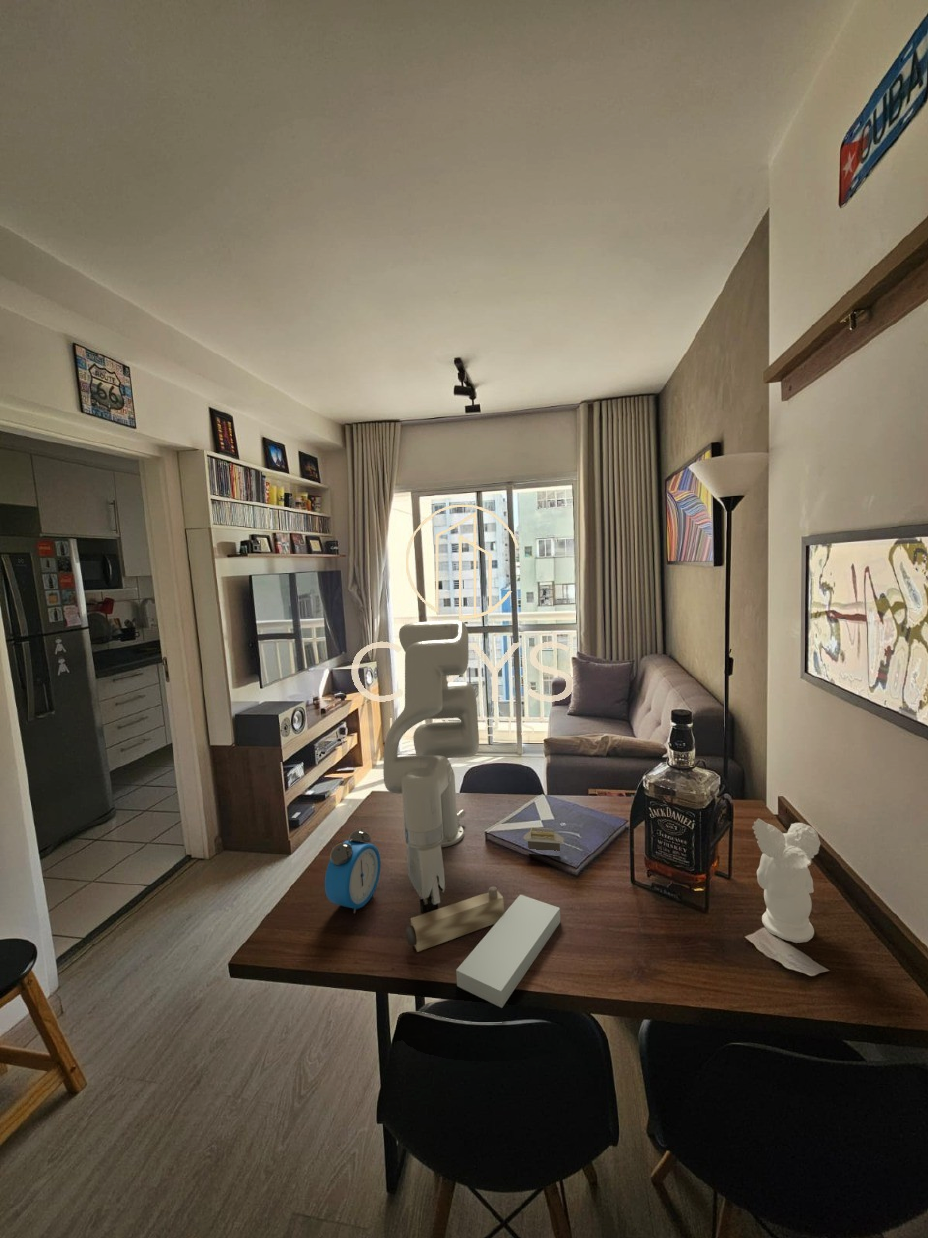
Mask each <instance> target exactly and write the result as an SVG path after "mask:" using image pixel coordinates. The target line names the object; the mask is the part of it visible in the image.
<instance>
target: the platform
mask: <svg viewBox="0 0 928 1238" xmlns="http://www.w3.org/2000/svg"><path fill="white" fill-rule="evenodd" d="M522 839H523V841H524V842H527V849H528V848H529V849H536V850H554V851H556V850H557V851H560V852H561V844H564V843H565V837H563V836H561V835H560V834H559V833H557V832H555V831H554V828H542V827H531V828H530V831H528V832H527V833H525V834H524V835H523V838H522Z"/></svg>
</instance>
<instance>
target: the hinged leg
mask: <svg viewBox="0 0 928 1238" xmlns="http://www.w3.org/2000/svg"><path fill="white" fill-rule="evenodd" d="M504 905H505V904H504V897H503V895H502V894H501V893H500V892H499V891H498V887H496V886H489V887H488V891H487V892H485V893H481V894H479V895H476V896H473V897H470V898H467V899H464V900H461V901H458V902H456V903H451V904H449V905H445V906H442V907H439V908H438V909H437V910H434V911H431V912H428V913H425V914H422V915H421V914H418V915H415V916H413V917H411V918H410V926H407V927H405V938H406V941H407V945H408V946H409V947H412V946H414V949H415V951H416V952H417V953H418V952H422V951H423V950H424V951H425V950H427V949H429V948H433V947H436V946H437V945H440V944H443V943H447V942H448V941H452V940H455V939H456V938H459V937H463V936H466V935H469V934H470V933H473V932H476V931H479V930H483V929H484V928H487V927H489V926H494V925H495V924H496V923H497V921H498V920H499V919H500V918H501V917H502V916H503V914H504V913H505V907H504Z"/></svg>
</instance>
